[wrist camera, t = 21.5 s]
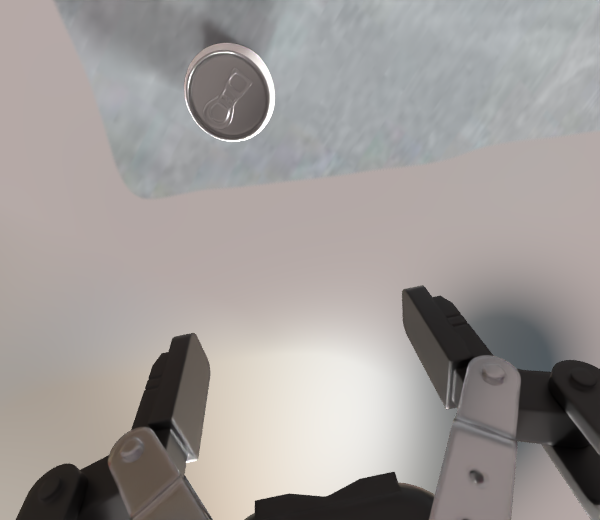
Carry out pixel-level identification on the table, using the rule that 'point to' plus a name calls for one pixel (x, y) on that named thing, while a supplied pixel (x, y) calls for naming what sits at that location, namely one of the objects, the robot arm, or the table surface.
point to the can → (229, 92)
